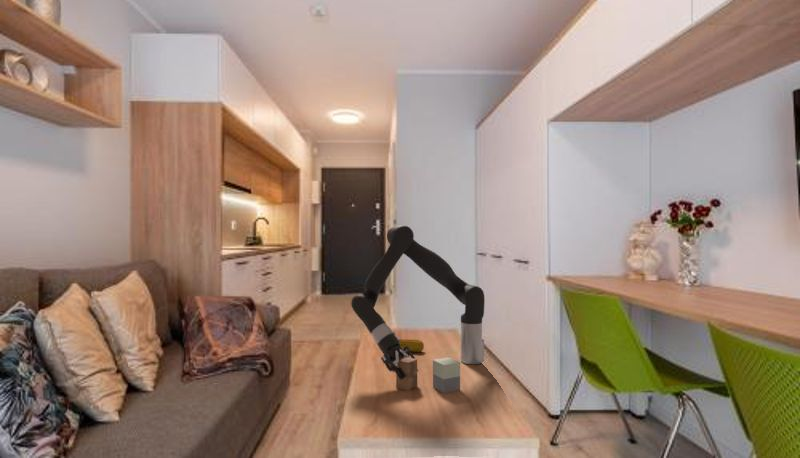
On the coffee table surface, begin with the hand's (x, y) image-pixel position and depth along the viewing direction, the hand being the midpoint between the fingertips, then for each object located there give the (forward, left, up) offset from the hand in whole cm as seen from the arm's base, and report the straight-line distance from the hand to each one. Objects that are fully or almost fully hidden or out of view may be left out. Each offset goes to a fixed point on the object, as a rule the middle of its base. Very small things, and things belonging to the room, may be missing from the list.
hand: (410, 375), depth 155 cm
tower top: (-11, +7, 0) cm, 13 cm away
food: (-22, -46, -5) cm, 51 cm away
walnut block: (+1, -1, -5) cm, 5 cm away
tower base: (-11, +7, -5) cm, 14 cm away
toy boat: (-9, -31, -5) cm, 33 cm away
